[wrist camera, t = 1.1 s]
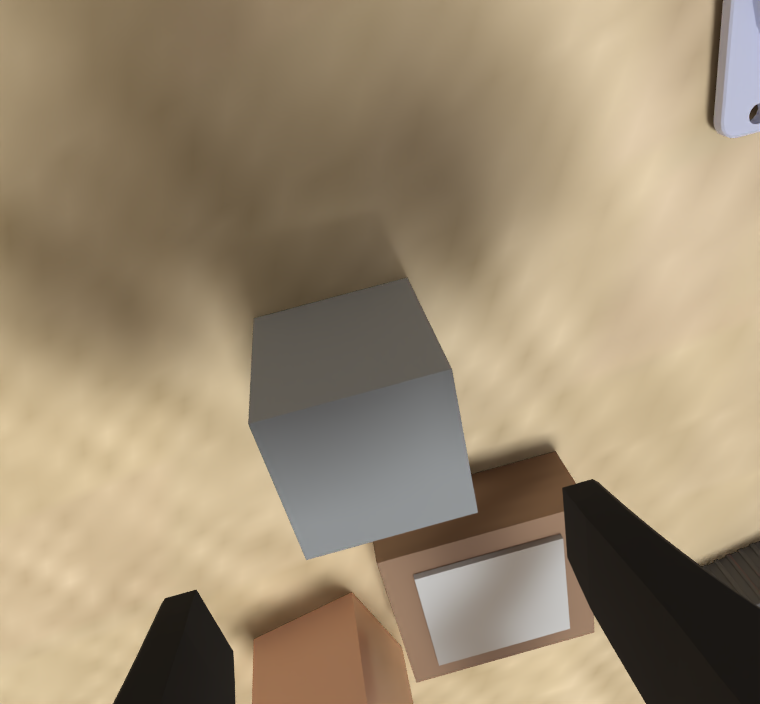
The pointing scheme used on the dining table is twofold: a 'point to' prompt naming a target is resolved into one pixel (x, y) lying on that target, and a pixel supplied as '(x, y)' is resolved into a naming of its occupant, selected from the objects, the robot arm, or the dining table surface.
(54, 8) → the dining table surface
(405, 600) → the walnut block
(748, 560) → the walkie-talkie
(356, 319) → the slate cube
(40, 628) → the dining table surface
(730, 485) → the dining table surface
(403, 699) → the terracotta cube
